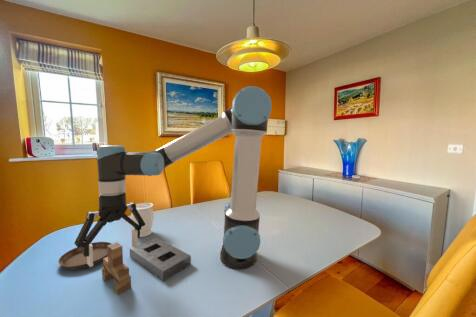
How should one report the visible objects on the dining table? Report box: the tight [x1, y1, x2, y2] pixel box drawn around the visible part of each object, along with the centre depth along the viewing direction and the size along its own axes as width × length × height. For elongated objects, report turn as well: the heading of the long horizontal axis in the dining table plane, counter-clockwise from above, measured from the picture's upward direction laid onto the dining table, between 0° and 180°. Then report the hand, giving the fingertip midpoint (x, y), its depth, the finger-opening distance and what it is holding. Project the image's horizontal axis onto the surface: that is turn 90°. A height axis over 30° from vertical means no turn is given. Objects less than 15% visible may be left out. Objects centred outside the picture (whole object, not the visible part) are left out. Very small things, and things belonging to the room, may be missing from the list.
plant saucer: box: [58, 241, 112, 271], centre depth 81 cm, size 18×18×3 cm
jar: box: [130, 202, 155, 238], centre depth 103 cm, size 11×10×15 cm
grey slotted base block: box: [129, 237, 192, 282], centre depth 80 cm, size 24×12×4 cm, turn 53°
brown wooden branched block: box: [101, 241, 132, 295], centre depth 67 cm, size 12×4×13 cm, turn 53°
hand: (114, 255), depth 67 cm, fingers open, 13 cm apart
